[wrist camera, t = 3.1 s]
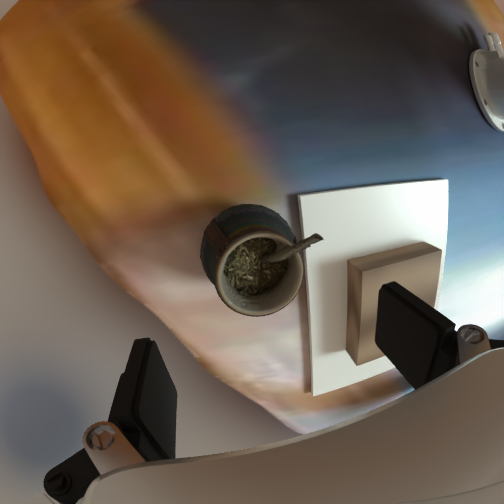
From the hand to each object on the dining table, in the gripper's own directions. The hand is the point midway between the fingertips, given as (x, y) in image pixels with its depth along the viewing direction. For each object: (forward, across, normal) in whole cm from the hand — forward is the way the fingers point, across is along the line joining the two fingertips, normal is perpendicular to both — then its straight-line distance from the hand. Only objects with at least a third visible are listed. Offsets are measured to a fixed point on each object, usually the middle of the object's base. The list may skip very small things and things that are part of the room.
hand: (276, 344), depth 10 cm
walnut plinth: (+13, -15, +9) cm, 22 cm away
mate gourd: (+14, -1, 0) cm, 14 cm away
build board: (+14, -15, +9) cm, 22 cm away
